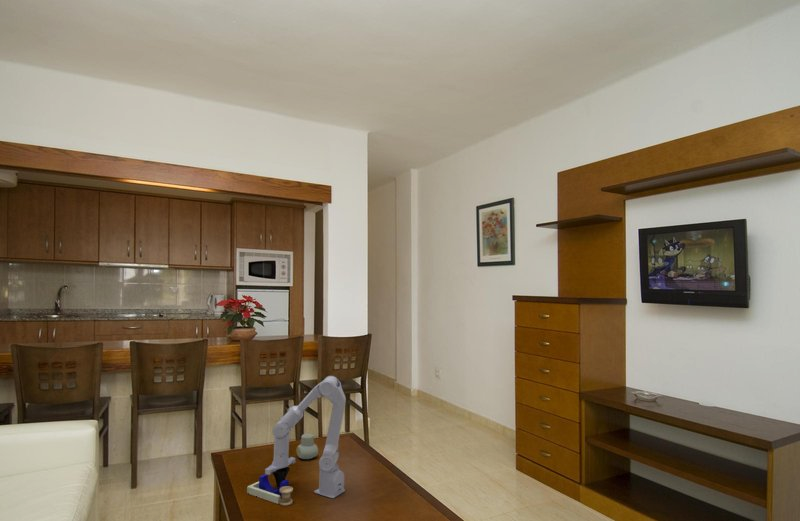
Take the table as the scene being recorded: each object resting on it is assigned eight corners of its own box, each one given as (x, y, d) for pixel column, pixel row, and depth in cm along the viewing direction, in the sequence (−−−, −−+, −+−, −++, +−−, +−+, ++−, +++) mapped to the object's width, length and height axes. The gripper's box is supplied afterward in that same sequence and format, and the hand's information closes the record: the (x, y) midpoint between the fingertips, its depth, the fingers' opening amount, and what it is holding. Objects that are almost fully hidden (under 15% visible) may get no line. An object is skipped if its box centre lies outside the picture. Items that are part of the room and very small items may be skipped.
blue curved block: (290, 494, 177) (291, 478, 178) (283, 499, 173) (283, 483, 174) (266, 488, 183) (267, 472, 183) (258, 492, 179) (259, 476, 179)
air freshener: (295, 454, 218) (295, 433, 219) (312, 451, 222) (312, 430, 223) (301, 462, 209) (302, 440, 209) (319, 459, 213) (319, 437, 213)
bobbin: (295, 501, 171) (295, 487, 172) (286, 506, 167) (286, 492, 167) (285, 498, 174) (286, 484, 174) (276, 503, 170) (276, 489, 170)
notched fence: (291, 496, 175) (291, 489, 175) (277, 504, 169) (278, 497, 169) (260, 486, 183) (261, 480, 184) (247, 493, 177) (247, 486, 177)
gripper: (286, 444, 190) (285, 478, 189) (260, 455, 177) (258, 491, 177) (299, 447, 186) (298, 482, 186) (273, 459, 174) (272, 496, 173)
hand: (280, 487), depth 181 cm, fingers closed
